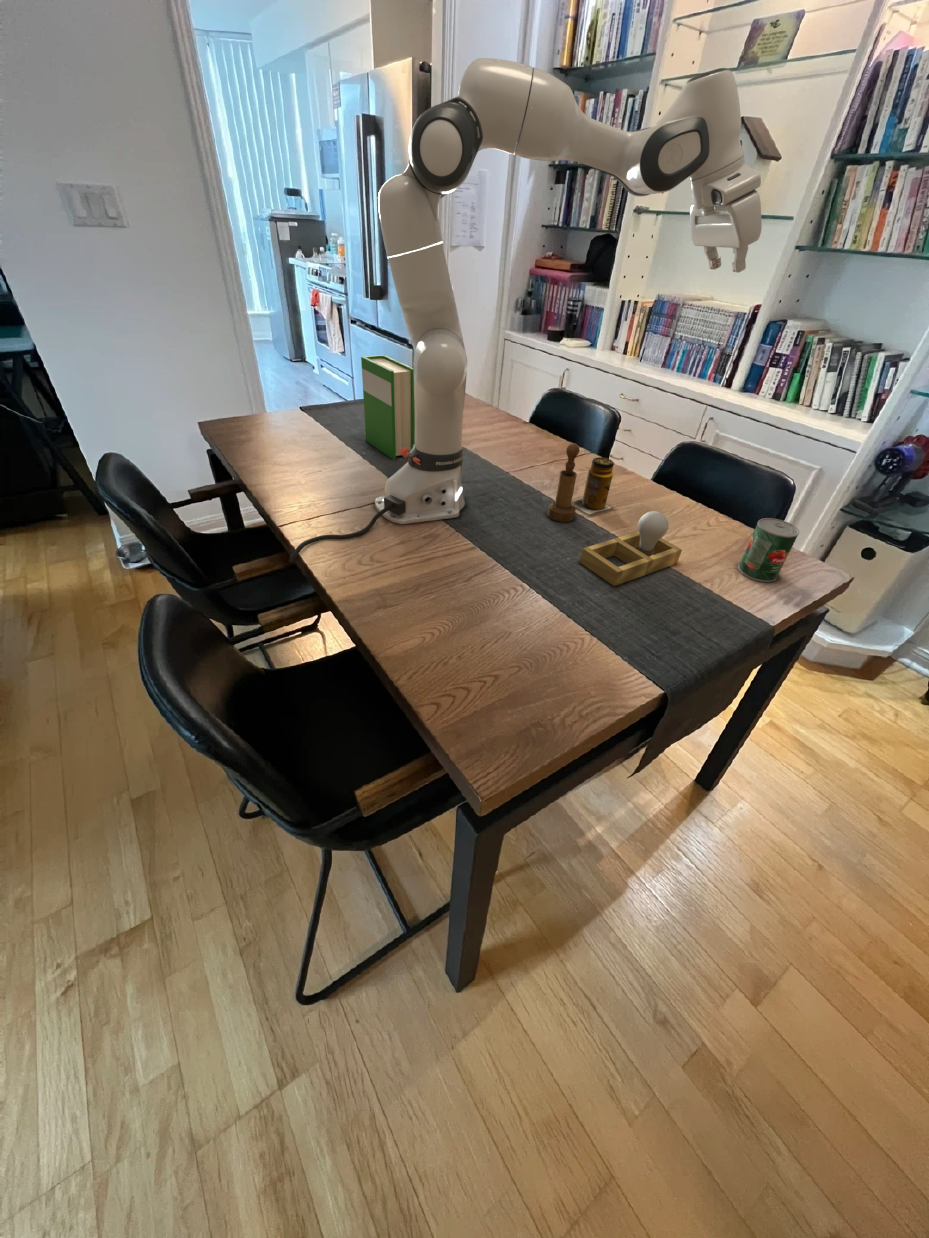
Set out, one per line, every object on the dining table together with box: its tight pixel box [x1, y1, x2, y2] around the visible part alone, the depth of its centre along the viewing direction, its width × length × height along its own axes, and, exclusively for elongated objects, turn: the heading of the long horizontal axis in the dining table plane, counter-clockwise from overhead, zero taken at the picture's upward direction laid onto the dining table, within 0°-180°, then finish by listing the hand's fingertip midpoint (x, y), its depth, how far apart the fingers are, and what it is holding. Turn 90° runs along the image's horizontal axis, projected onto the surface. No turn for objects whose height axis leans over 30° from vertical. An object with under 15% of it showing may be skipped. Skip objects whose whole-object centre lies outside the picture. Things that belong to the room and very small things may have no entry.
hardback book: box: [360, 354, 415, 460], centre depth 153 cm, size 18×7×24 cm, turn 34°
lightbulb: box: [637, 510, 669, 557], centre depth 113 cm, size 6×6×11 cm
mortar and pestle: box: [546, 442, 580, 523], centre depth 125 cm, size 7×6×18 cm
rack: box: [579, 530, 683, 587], centre depth 114 cm, size 19×10×4 cm, turn 122°
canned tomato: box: [737, 517, 800, 583], centre depth 111 cm, size 8×8×11 cm
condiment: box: [571, 456, 615, 515], centre depth 133 cm, size 7×8×12 cm
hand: (727, 269), depth 104 cm, fingers open, 8 cm apart
